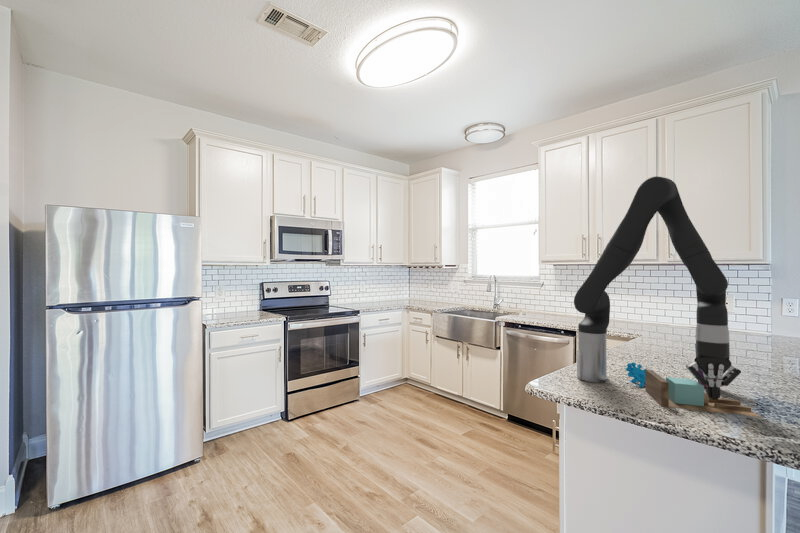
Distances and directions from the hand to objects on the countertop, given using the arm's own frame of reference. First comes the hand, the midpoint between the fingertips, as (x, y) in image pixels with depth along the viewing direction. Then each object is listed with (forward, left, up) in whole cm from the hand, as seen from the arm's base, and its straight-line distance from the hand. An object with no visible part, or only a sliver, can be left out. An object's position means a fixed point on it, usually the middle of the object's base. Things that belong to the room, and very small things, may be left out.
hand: (713, 399), depth 107 cm
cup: (+6, +19, -3) cm, 20 cm away
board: (-4, 0, -2) cm, 4 cm away
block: (-7, 0, -2) cm, 7 cm away
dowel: (-6, 0, -2) cm, 6 cm away
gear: (-14, +16, -3) cm, 21 cm away
